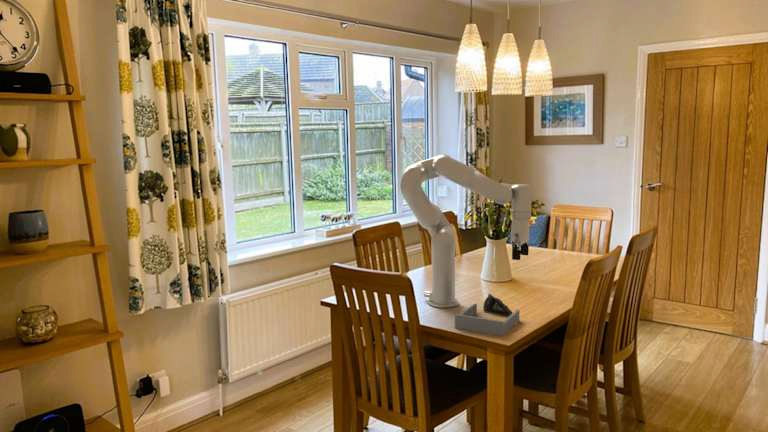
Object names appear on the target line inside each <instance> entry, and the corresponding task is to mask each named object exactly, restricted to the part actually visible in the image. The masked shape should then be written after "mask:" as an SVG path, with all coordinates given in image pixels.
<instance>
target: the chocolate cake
mask: <svg viewBox="0 0 768 432" xmlns="http://www.w3.org/2000/svg"><path fill="white" fill-rule="evenodd" d="M482 309H483V312H484V313H487V314H492V315H496V316H500V317H501V316H502V317H506V318H508V317H509V316H510V315H511V314H513V313H514V312H513V311H512V310H511V309H510V308H509V306H508V305H506V304H505V303H504V302H503V300H501V299H500V298H498V297H495V296H494V295H492V294H491V293H488V296H487V297H486V298H485V300H484V301H483V306H482Z"/></svg>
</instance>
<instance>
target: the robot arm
mask: <svg viewBox="0 0 768 432" xmlns="http://www.w3.org/2000/svg"><path fill="white" fill-rule="evenodd" d="M439 177H441V178H443V179H445V180H448V181H450V182H453V183H454V184H457V185H458V186H461V187H463V188H465V189H467V190H468V191H471V192H473V193H475V194H478V195H479V196H481V197H483V198H486V199H488V200H489V201H492V202H494V203H496V204H499V205H506V204H509V203H510V202H511V227H510V239H509V243H510V244H511V260H514V261H521V256H529V252H530V251H529V245H530V242H529V241H530V235H531V234H530V233H531V232H530V231H531V229H530V227H531V226H530V220H531V219H532V193H533V190H532V189H533V188H532V186H531V184H527V183H515V184H512V183H503V182H498V181H496V180H495V179H492V178H490V177H488V176H486V175H484V174H483V173H482V172H481V171H480V170H479V169H476V168H474V167H473V166H470V165H468V164H465V163H464V162H461V161H459V160H456V159H455V158H453V157H451V156H450V155H448V154H446V153H445V154H443V153H442V154H438V155H437V156H433V157H431V158H427V159H424V160H421V161H418V162H414V163H412V164H410V165H409V166H408V167H407V168H406V169H405V170H404V172H403V173H402V176H401V179H400V186H399V187H400V192H401V195H402V197H403V199H404V200H405V202H406V204H407V205H408V208H409V209H410V211H411V212H412V214H413V215H414V217H415V219H416V220H417V222H418V224H419V225H420V226H421V227H422V228H424V229H426V230H427V232H428V233H429V235H430V236H431V241H430V246H431V247H430V248H431V291H428V290H424V292H423V296H424V298H429V299H428V305H429V306H431V307H434V308H442V309H446V308H454V307H457V306H458V305H459V304H460V301H459V300H458V299H457V298H456V239H457V238H456V232H455V230H454V228H453V226H452V225H451V223H450V222H449V220H448V219H447V217H446V216H445V214H444V212H443V211H442V209H441V208H440V207H439V206H438V205H437V204H434V203H433V202H431V200H430V198H428V194H426V192H425V191H424V189H423V187H422V185H423V183H424V182H427V181H430V180H433V179H436V178H439Z"/></svg>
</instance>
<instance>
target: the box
mask: <svg viewBox="0 0 768 432" xmlns="http://www.w3.org/2000/svg"><path fill="white" fill-rule="evenodd" d="M512 313H513V314H510V316H509V317H506V319H505V320H503V321H502V320H496V319H490V318H484V317H479V316H478V317H477V316H476V315H477V314H478V303H473V304H471V305H470V306H469V307H467V308H466V309H465V310H463V311H461V312H460V313H459V314H458V313H455V314H454V329H458V330H464V331H470V332H476V333H477V332H478V333H482V334H489V335H493V336H494V335H495V336H500V337H503V336H504V335H505V334H507V332H509V331H510V330H511V329H512V328H513V327H514V326H515V325H516V324H517V323H518V322H519V321H520V309H516V310H515V311H513V312H512Z"/></svg>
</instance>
